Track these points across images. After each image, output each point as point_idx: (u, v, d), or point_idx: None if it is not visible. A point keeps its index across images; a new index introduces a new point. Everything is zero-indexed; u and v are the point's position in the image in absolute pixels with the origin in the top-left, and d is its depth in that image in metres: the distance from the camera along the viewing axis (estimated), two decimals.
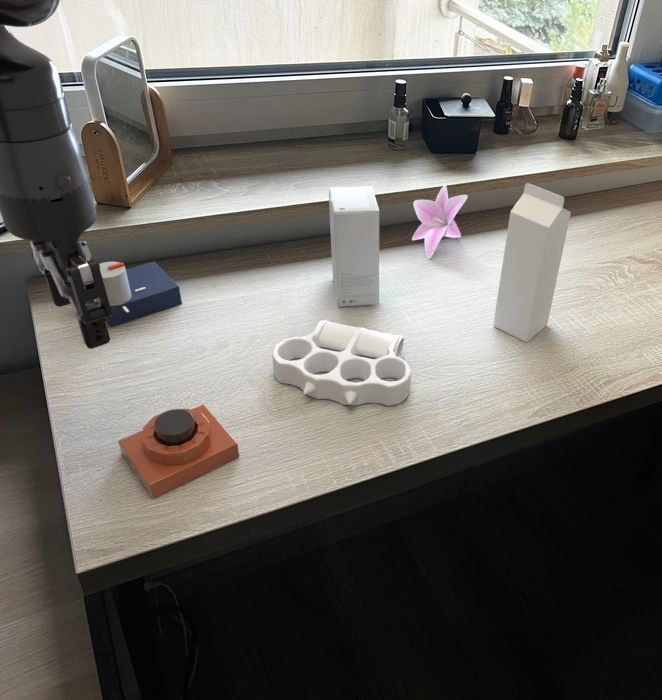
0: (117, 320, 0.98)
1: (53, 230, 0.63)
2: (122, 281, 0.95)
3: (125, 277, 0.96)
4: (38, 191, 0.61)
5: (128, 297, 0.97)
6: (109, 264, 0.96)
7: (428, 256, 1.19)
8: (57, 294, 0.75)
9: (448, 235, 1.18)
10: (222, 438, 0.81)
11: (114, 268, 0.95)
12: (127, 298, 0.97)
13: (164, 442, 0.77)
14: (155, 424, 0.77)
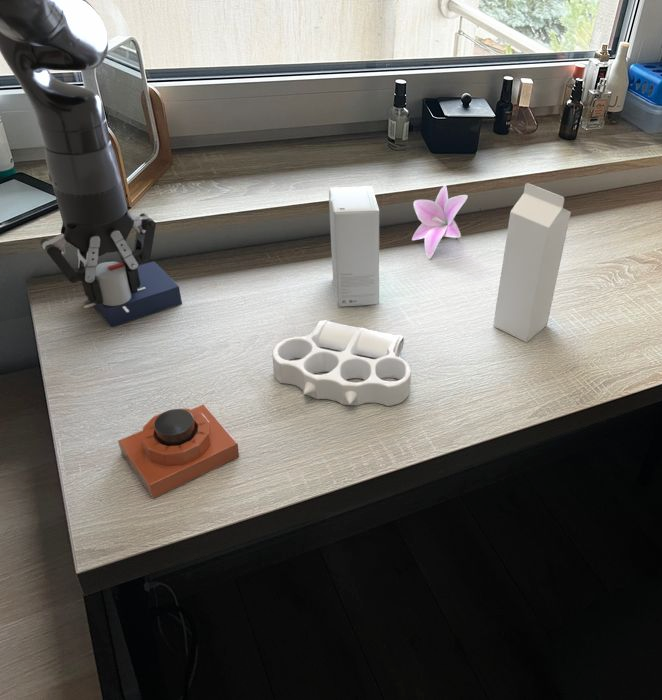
0: (117, 320, 0.98)
1: None
2: (122, 281, 0.95)
3: (125, 277, 0.96)
4: (119, 172, 0.88)
5: (128, 297, 0.97)
6: (109, 264, 0.96)
7: (428, 256, 1.19)
8: None
9: (448, 235, 1.18)
10: (222, 438, 0.81)
11: (114, 268, 0.95)
12: (127, 298, 0.97)
13: (164, 442, 0.77)
14: (155, 424, 0.77)
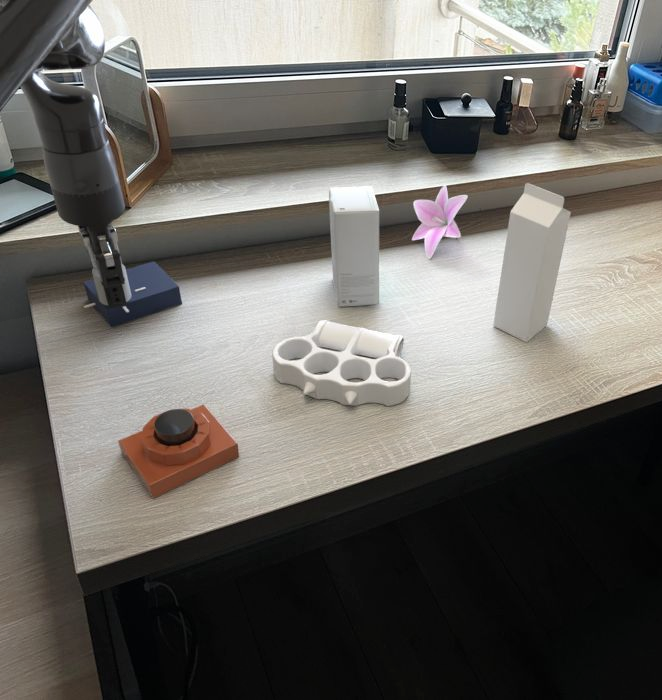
0: (117, 320, 0.98)
1: None
2: None
3: None
4: None
5: None
6: None
7: (428, 256, 1.19)
8: None
9: (448, 235, 1.18)
10: (222, 438, 0.81)
11: None
12: None
13: (164, 442, 0.77)
14: (155, 424, 0.77)
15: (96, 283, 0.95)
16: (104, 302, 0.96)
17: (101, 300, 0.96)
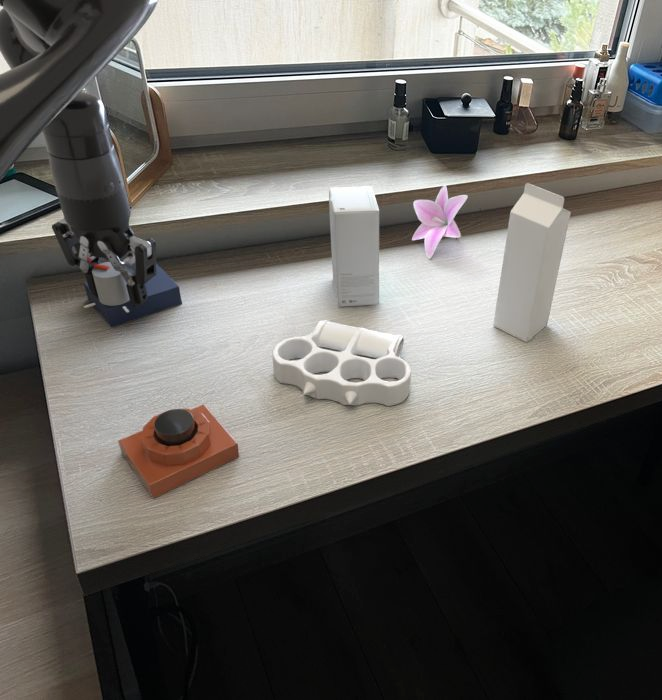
0: (117, 320, 0.98)
1: None
2: None
3: None
4: None
5: None
6: (99, 272, 0.94)
7: (428, 256, 1.19)
8: None
9: (448, 235, 1.18)
10: (222, 438, 0.81)
11: None
12: None
13: (164, 442, 0.77)
14: (155, 424, 0.77)
15: (105, 286, 0.94)
16: (115, 303, 0.96)
17: (111, 302, 0.96)
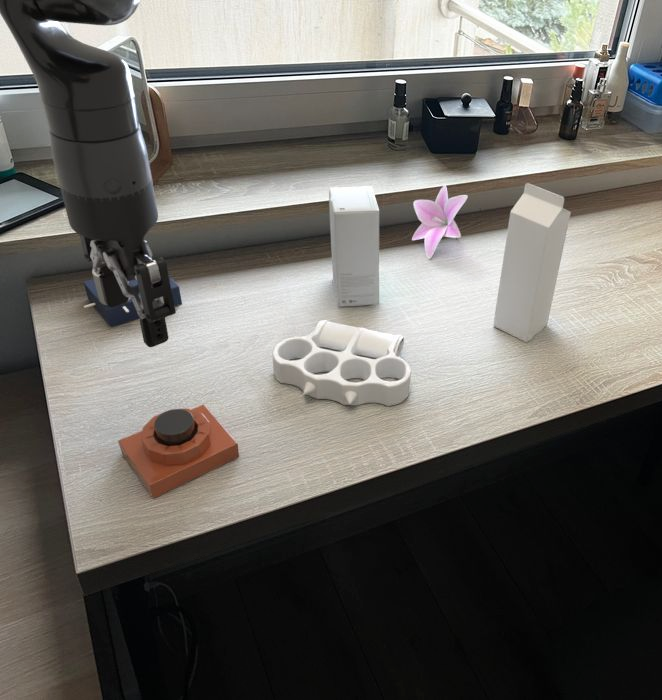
0: (117, 320, 0.98)
1: None
2: None
3: None
4: None
5: None
6: None
7: (428, 256, 1.19)
8: None
9: (448, 235, 1.18)
10: (222, 438, 0.81)
11: None
12: None
13: (164, 442, 0.77)
14: (155, 424, 0.77)
15: None
16: None
17: None
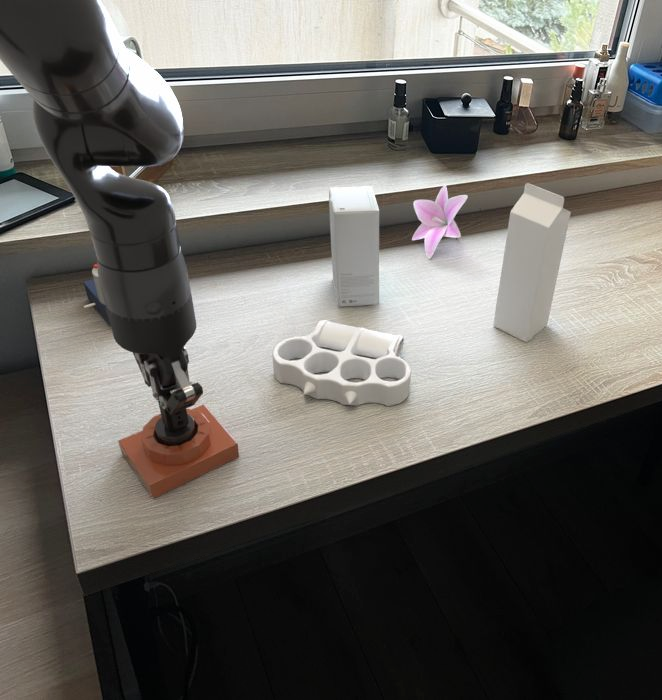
0: None
1: None
2: None
3: None
4: None
5: None
6: None
7: (428, 256, 1.19)
8: None
9: (448, 235, 1.18)
10: (222, 438, 0.81)
11: None
12: None
13: None
14: (156, 427, 0.78)
15: None
16: None
17: None
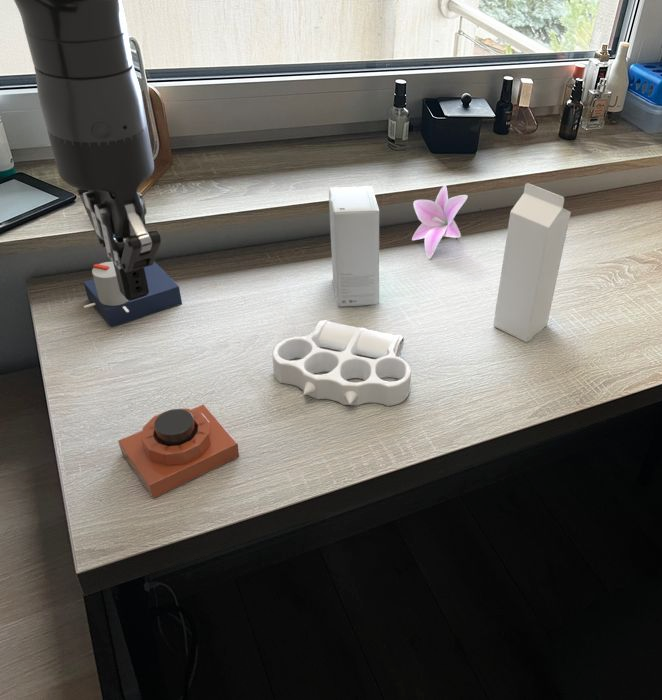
0: (117, 320, 0.98)
1: None
2: None
3: None
4: None
5: None
6: (99, 272, 0.94)
7: (428, 256, 1.19)
8: None
9: (448, 235, 1.18)
10: (222, 438, 0.81)
11: None
12: None
13: (164, 442, 0.77)
14: (155, 424, 0.77)
15: (105, 286, 0.94)
16: (115, 303, 0.96)
17: (111, 302, 0.96)
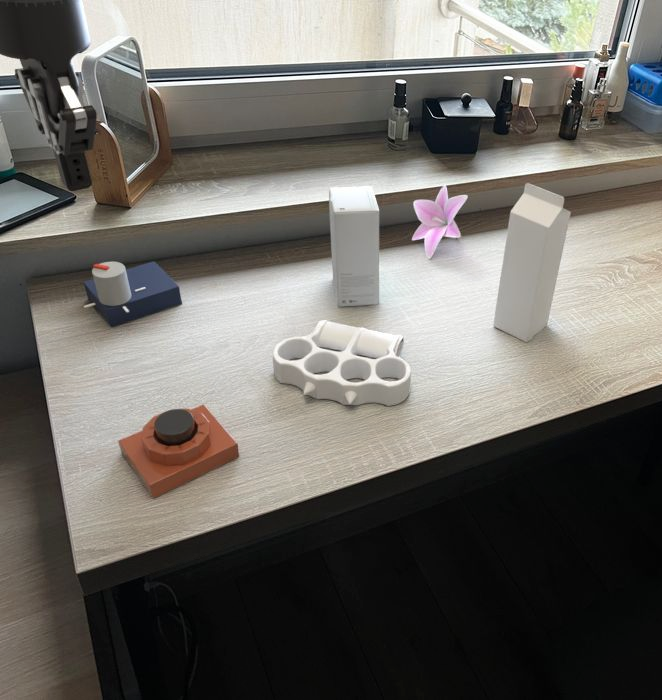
0: (117, 320, 0.98)
1: None
2: None
3: None
4: None
5: None
6: (99, 272, 0.94)
7: (428, 256, 1.19)
8: None
9: (448, 235, 1.18)
10: (222, 438, 0.81)
11: None
12: None
13: (164, 442, 0.77)
14: (155, 424, 0.77)
15: (105, 286, 0.94)
16: (115, 303, 0.96)
17: (111, 302, 0.96)
